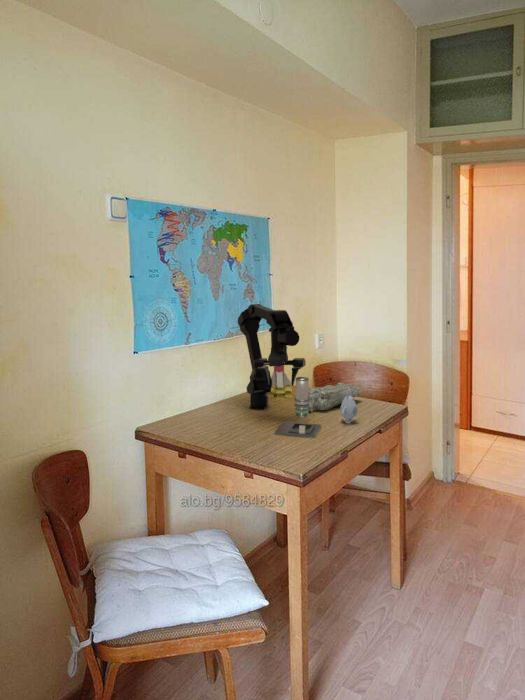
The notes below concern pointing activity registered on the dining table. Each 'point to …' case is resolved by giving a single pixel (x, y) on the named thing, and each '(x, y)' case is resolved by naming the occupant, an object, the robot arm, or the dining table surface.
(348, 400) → the toy figure
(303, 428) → the stand base
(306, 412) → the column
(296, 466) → the dining table surface
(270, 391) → the robot arm
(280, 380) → the toy rocket
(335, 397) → the stone
